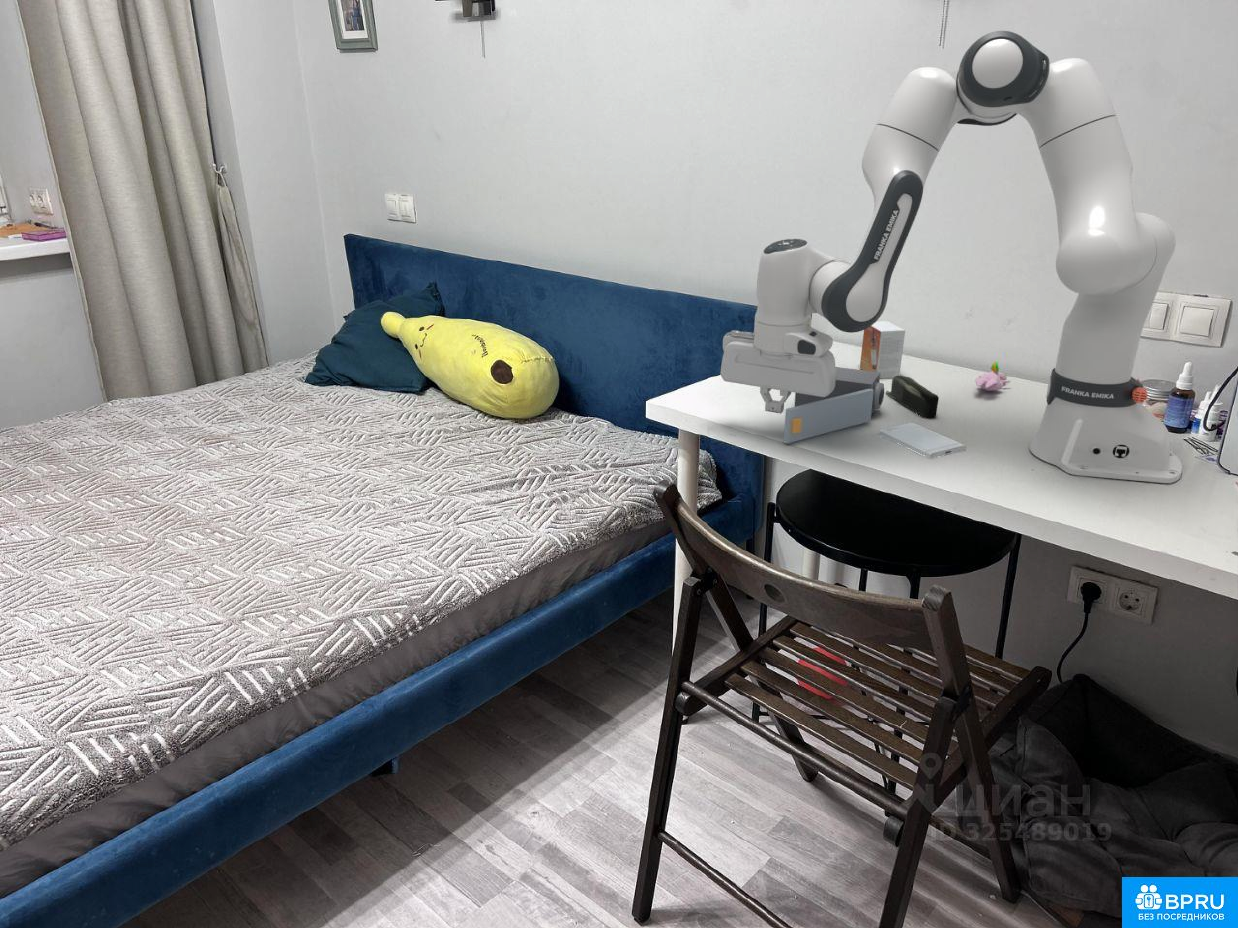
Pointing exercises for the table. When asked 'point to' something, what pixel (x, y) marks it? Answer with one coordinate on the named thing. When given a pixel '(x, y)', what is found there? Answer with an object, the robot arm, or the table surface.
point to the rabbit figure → (992, 379)
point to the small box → (882, 349)
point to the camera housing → (850, 386)
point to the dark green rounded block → (914, 396)
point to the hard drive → (922, 440)
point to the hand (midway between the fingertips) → (774, 411)
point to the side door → (828, 415)
